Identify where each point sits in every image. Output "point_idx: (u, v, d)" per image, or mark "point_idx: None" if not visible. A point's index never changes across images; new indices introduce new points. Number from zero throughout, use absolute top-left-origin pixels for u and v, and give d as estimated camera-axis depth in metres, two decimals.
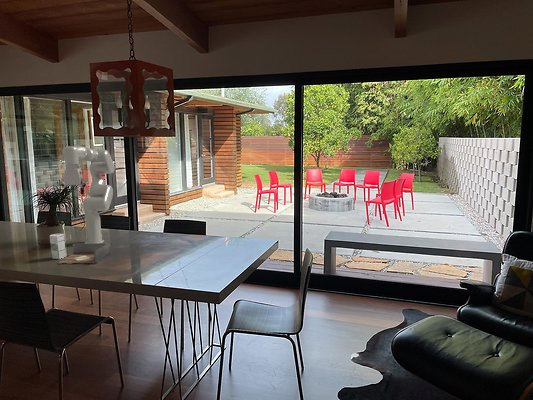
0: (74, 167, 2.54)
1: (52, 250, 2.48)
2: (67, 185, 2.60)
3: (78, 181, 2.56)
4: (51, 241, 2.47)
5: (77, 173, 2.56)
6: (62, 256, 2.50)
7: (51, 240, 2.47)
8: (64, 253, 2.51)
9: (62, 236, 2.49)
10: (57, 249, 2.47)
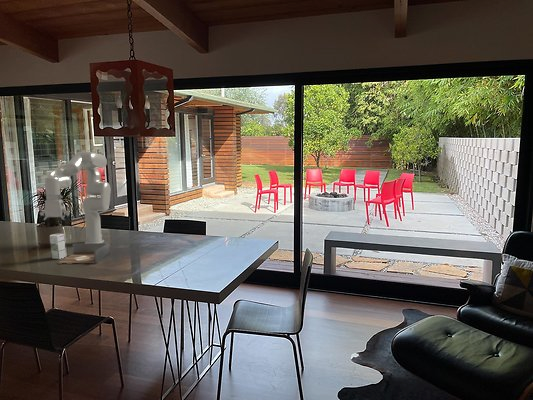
0: (55, 198, 2.43)
1: (52, 250, 2.48)
2: None
3: (59, 213, 2.45)
4: (51, 241, 2.47)
5: (58, 204, 2.44)
6: (62, 256, 2.50)
7: (51, 240, 2.47)
8: (64, 253, 2.51)
9: (62, 236, 2.49)
10: (57, 249, 2.47)
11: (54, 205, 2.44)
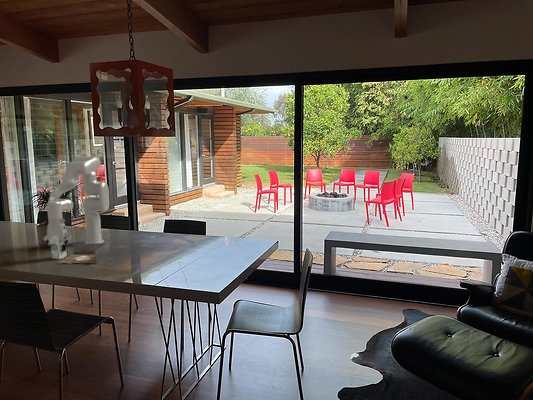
0: (57, 222, 2.45)
1: (52, 250, 2.48)
2: None
3: (62, 236, 2.47)
4: (51, 241, 2.47)
5: (60, 228, 2.46)
6: (62, 256, 2.50)
7: (51, 240, 2.47)
8: (64, 253, 2.51)
9: None
10: (57, 249, 2.47)
11: (56, 229, 2.46)
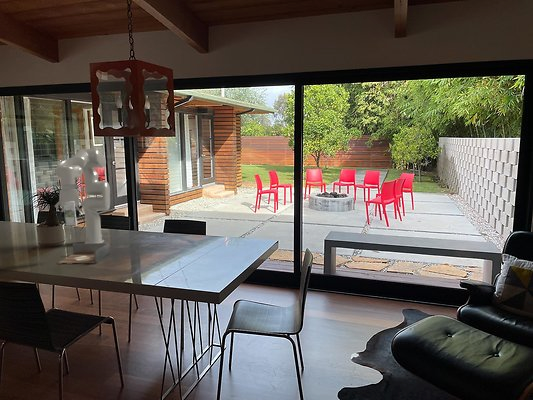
0: (73, 188, 2.41)
1: (67, 217, 2.41)
2: None
3: (77, 202, 2.43)
4: (66, 208, 2.40)
5: (76, 194, 2.42)
6: (76, 223, 2.45)
7: (66, 206, 2.40)
8: (76, 220, 2.47)
9: None
10: (74, 215, 2.42)
11: (72, 195, 2.41)
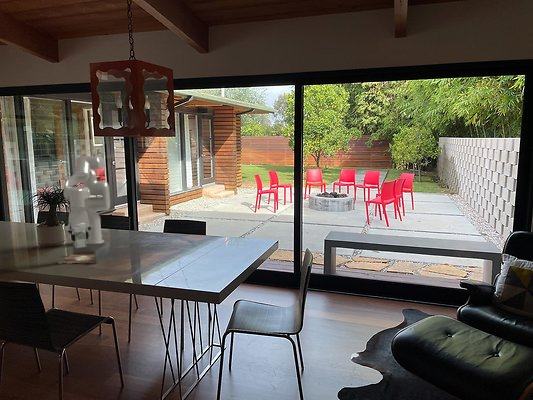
0: (84, 209, 2.42)
1: (77, 239, 2.41)
2: None
3: (87, 224, 2.44)
4: (76, 230, 2.40)
5: (86, 215, 2.43)
6: None
7: (76, 229, 2.40)
8: None
9: None
10: (85, 237, 2.43)
11: (82, 217, 2.42)
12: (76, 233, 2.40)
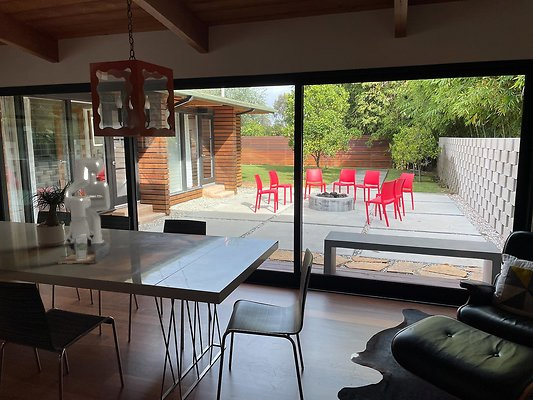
0: (85, 219, 2.42)
1: (79, 250, 2.42)
2: None
3: (88, 233, 2.45)
4: (78, 241, 2.41)
5: (87, 225, 2.44)
6: None
7: (78, 240, 2.41)
8: None
9: None
10: (86, 248, 2.44)
11: (83, 226, 2.42)
12: (77, 244, 2.41)
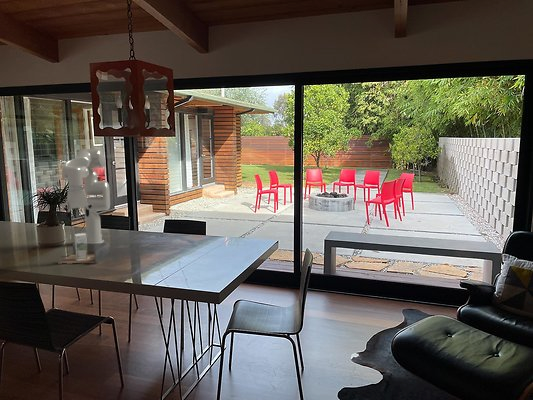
0: (82, 189, 2.41)
1: (79, 250, 2.42)
2: None
3: (85, 203, 2.44)
4: (78, 241, 2.41)
5: (84, 195, 2.43)
6: None
7: (78, 240, 2.41)
8: None
9: None
10: (86, 248, 2.44)
11: (80, 196, 2.42)
12: (77, 244, 2.41)
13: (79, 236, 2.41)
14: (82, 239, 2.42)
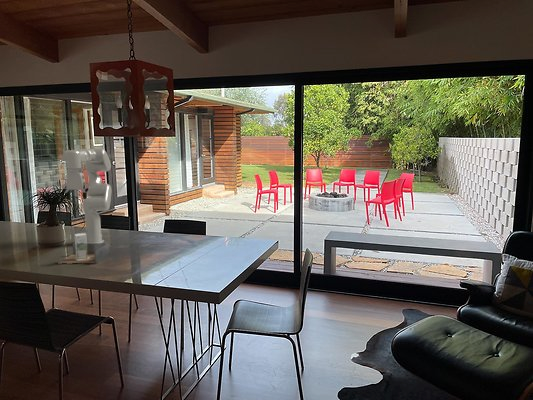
0: (76, 171, 2.51)
1: (79, 250, 2.42)
2: (69, 189, 2.56)
3: (80, 185, 2.53)
4: (78, 241, 2.41)
5: (79, 177, 2.52)
6: None
7: (78, 240, 2.41)
8: None
9: None
10: (86, 248, 2.44)
11: (75, 178, 2.52)
12: (77, 244, 2.41)
13: (79, 236, 2.41)
14: (82, 239, 2.42)
